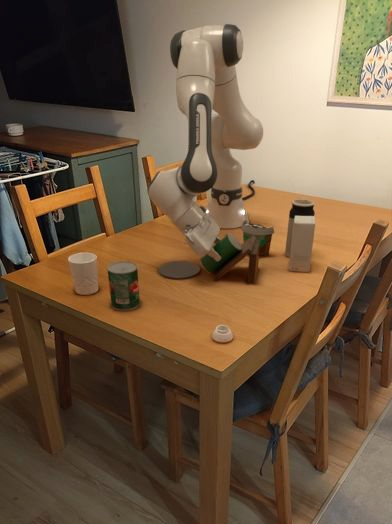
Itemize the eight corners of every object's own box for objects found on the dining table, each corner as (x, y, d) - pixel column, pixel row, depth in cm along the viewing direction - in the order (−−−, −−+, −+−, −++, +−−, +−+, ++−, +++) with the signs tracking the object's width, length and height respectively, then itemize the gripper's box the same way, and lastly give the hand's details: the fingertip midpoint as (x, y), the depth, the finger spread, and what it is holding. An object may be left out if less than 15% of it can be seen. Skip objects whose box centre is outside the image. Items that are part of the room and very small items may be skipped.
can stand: (219, 265, 151) (220, 232, 145) (258, 268, 148) (260, 235, 142) (213, 280, 141) (213, 245, 135) (254, 284, 139) (256, 249, 133)
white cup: (90, 281, 140) (86, 250, 135) (106, 290, 135) (102, 257, 130) (68, 289, 136) (62, 257, 130) (82, 298, 131) (77, 265, 125)
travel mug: (298, 261, 153) (305, 206, 143) (280, 254, 158) (285, 201, 148) (313, 255, 158) (321, 202, 148) (294, 249, 163) (301, 196, 153)
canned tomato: (108, 300, 130) (103, 263, 124) (135, 295, 132) (132, 259, 126) (115, 313, 124) (111, 275, 118) (143, 307, 126) (141, 270, 120)
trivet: (164, 261, 153) (164, 259, 153) (203, 264, 151) (203, 262, 151) (153, 277, 143) (153, 275, 143) (194, 281, 141) (194, 279, 140)
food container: (232, 251, 160) (233, 223, 155) (243, 247, 164) (245, 219, 159) (261, 261, 153) (263, 231, 148) (272, 256, 157) (274, 227, 152)
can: (202, 267, 149) (202, 228, 142) (241, 270, 147) (243, 231, 140) (198, 275, 144) (198, 235, 137) (238, 278, 142) (241, 238, 135)
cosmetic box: (309, 273, 146) (316, 224, 137) (287, 271, 147) (293, 222, 138) (309, 262, 152) (316, 215, 144) (289, 261, 154) (294, 214, 145)
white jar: (207, 338, 113) (223, 346, 110) (208, 328, 112) (224, 335, 109) (220, 330, 116) (236, 337, 113) (221, 320, 115) (237, 327, 112)
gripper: (190, 225, 128) (223, 261, 132) (204, 204, 145) (234, 236, 149) (174, 239, 132) (208, 274, 135) (190, 217, 148) (220, 249, 152)
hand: (222, 254), depth 142 cm, fingers closed on can, 6 cm apart
